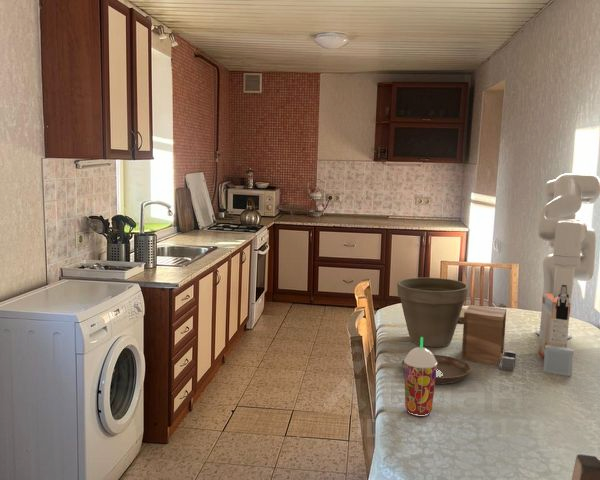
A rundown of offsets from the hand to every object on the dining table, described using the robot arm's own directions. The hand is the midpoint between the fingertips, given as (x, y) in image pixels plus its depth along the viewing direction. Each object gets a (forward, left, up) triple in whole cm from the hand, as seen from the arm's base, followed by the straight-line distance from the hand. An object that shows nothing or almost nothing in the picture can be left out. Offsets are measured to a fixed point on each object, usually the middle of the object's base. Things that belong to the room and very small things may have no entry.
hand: (561, 315), depth 174 cm
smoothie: (+50, -32, -19) cm, 62 cm away
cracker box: (-15, -2, -19) cm, 24 cm away
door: (0, 0, -18) cm, 18 cm away
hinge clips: (+2, -14, -18) cm, 23 cm away
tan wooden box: (-4, -23, -18) cm, 30 cm away
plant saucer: (+20, -34, -19) cm, 44 cm away
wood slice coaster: (-52, -38, -19) cm, 67 cm away
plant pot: (-13, -43, -19) cm, 49 cm away
